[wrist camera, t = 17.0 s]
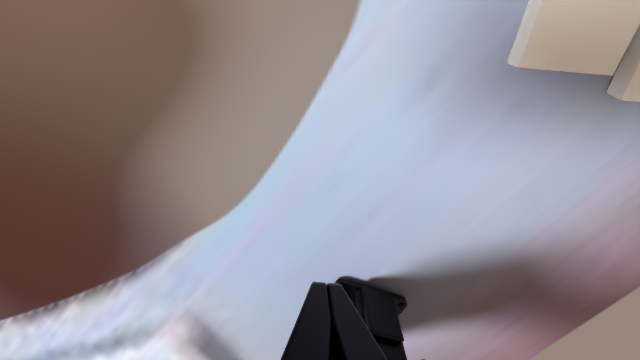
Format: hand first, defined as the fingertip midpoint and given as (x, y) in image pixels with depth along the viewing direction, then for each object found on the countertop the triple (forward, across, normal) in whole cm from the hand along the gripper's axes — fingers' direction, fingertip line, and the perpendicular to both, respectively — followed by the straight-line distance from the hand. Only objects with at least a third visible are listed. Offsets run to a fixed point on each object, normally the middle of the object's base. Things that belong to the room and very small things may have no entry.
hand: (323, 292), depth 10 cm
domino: (+12, -10, -8) cm, 17 cm away
